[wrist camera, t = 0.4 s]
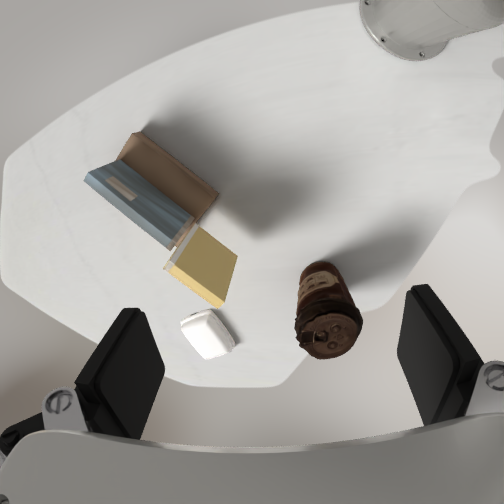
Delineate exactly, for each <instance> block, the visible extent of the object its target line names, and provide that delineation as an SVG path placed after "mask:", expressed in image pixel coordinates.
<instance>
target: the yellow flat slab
mask: <svg viewBox="0 0 504 504" xmlns="http://www.w3.org/2000/svg"><path fill="white" fill-rule="evenodd" d="M237 257H238V256H237V255H236V254H234V253H233V252H232V251H230V250H229V249H228V248H227V247H225V246H224V245H223V244H221V243H220V242H219V241H218V240H216V239H215V238H214V237H212V236H211V235H210V234H209V233H207V232H206V231H205V230H204V229H202V228H201V227H200V226H199V225H198V224H196V223H195V224H194V225H193V226H192V228H191V229H190V230H189V232H188V233H187V234H186V236H185V237H184V239H183V240H182V241H181V243H180V244H179V246H178V247H177V249H176V250H175V252H174V253H173V254H172V256H171V257H170V259H169V260H168V262H167V263H166V265H165V266H164V268H163V269H164V270H165V271H166V272H168V273H170V274H171V275H172V276H173V277H175V278H176V279H177V280H179V281H180V282H181V283H183V284H184V285H186V286H187V287H188V288H190V289H191V290H192V291H194V292H195V293H196V294H198V295H199V296H200V297H202V298H203V299H205V300H206V301H207V302H209V303H210V304H212V305H213V306H214V307H216V308H217V309H218V308H219V307H220V306H221V305H222V304H223V303H224V302H225V299H226V295H227V292H228V288H229V285H230V281H231V278H232V274H233V271H234V267H235V264H236V260H237Z"/></svg>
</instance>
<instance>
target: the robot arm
mask: <svg viewBox="0 0 504 504" xmlns="http://www.w3.org/2000/svg"><path fill="white" fill-rule="evenodd" d="M365 3H367V4H368V5H366V4H365ZM360 15H361V18H362V21H363V24H364V26H365V28H366V30H367V32H368V33H369V34H370V36H371V37H372V38H373V40H374V41H375V42H376V43H377V44H378V45H379V46H381V47H382V48H383V49H385V50H386V51H387V52H389V53H391V54H393V55H394V56H396V57H399V58H402V59H405V60H410V61H422V60H427V59H430V58H433V57H434V56H436V55H438V54H439V53H440V52H441V51H442V50H443V48H444V46H445V44H446V42H447V40H451V39H454V38H457V37H461V36H464V35H468V34H471V33H475V32H479V31H482V30H485V29H490V28H493V27H496V26H499V25H501V24H502V23H504V0H360ZM381 39H382V40H383V42H382V41H381ZM419 54H421V56H420V55H419ZM397 356H398V359H399V361H400V364H401V366H402V369H403V371H404V374H405V376H406V379H407V381H408V384H409V387H410V389H411V392H412V394H413V397H414V399H415V402H416V405H417V407H418V410H419V413H420V416H421V418H422V421H423V424H424V426H423V427H418V428H414V429H410V430H405V431H400V432H395V433H390V434H385V435H379V436H374V437H368V438H362V439H355V440H348V441H340V442H333V443H323V444H312V445H299V446H283V447H250V448H249V447H210V446H209V447H208V446H193V445H179V444H170V443H160V442H152V441H145V440H140V438H141V435H142V433H143V430H144V427H145V424H146V422H147V419H148V416H149V413H150V411H151V408H152V405H153V402H154V400H155V397H156V395H157V392H158V389H159V387H160V384H161V381H162V379H163V376H164V373H165V366H164V363H163V360H162V358H161V355H160V353H159V350H158V348H157V345H156V342H155V340H154V337H153V334H152V332H151V329H150V326H149V323H148V320H147V318H146V315H145V313H144V312H141V310H140V309H139V308H124V309H123V310H122V311H121V312H120V314H119V315H118V317H117V318H116V319H115V321H114V322H113V324H112V325H111V327H110V328H109V330H108V331H107V333H106V334H105V336H104V337H103V339H102V340H101V342H100V343H99V345H98V346H97V348H96V349H95V351H94V352H93V354H92V355H91V357H90V358H89V360H88V361H87V363H86V365H85V366H84V368H83V369H82V371H81V372H80V374H79V376H78V377H77V379H76V380H75V382H74V383H75V384H76V388H75V389H74V390H73V389H72V388H70V387H59V388H56V389H54V390H52V391H51V392H50V393H48V394H47V395H46V397H45V398H44V400H43V402H42V412H41V413H39V414H37V415H35V416H33V417H30V418H28V419H26V420H23V421H21V422H19V423H17V424H15V425H12V426H10V427H8V428H7V429H6V430H5V431H4V432H3V433H2V434H1V436H0V504H504V362H502V361H490V362H487V363H485V364H484V362H483V361H482V359H481V358H480V356H479V354H478V353H477V352H476V350H475V348H474V347H473V345H472V344H471V343H470V341H469V339H468V338H467V337H466V335H465V334H464V332H463V331H462V329H461V328H460V327H459V325H458V324H457V322H456V321H455V319H454V318H453V317H452V316H451V314H450V313H449V311H448V310H447V309H446V307H445V306H444V304H443V303H442V302H441V300H440V299H439V298H438V297H437V295H436V294H435V293H434V292H433V290H432V289H431V287H430V286H429V285H428V284H422V285H415V286H413V287H412V288H411V290H409V291H407V293H406V300H405V307H404V313H403V319H402V325H401V331H400V337H399V343H398V348H397Z"/></svg>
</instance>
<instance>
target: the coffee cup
mask: <svg viewBox="0 0 504 504" xmlns="http://www.w3.org/2000/svg"><path fill="white" fill-rule="evenodd" d="M299 285H300V287H299V290H298V303H297V312H296V315H297V318H296V319H295V320H296V322H295V331H296V334H297V337H296V339H297V340H298V341H299V342H300V344H299V346H300V347H301V348H303V349H305V350H306V351H307V352H308V353H309V354H310V355H311V356H313V357H315V358H317V359H330V358H335V357H338V356H341V355H343V354H344V353H346V352H347V351H349V350H350V349H351V347H352V346H353V345H354V343H355V341H356V340H357V338H358V336H359V334H360V332H361V329H362V325H363V319H362V316H361V314H360V311H359V309H358V308H356V306H355V303H354V301H353V299H352V297H351V294H350V293H349V290H348V288H347V286H346V284H345V282H344V280H343V278H342V276H341V274H340V273H339V271H338V269H337V268H336V267H335V266H334V265H333V264H331V263H327V262H316V263H313V264H311V265H310V266H308V267H306V268H305V270H304V271H303V272H302V274H301V276H300V282H299Z"/></svg>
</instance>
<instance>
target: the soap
mask: <svg viewBox="0 0 504 504" xmlns="http://www.w3.org/2000/svg"><path fill="white" fill-rule="evenodd" d="M181 325H182V326H181V330H182V331H183V333H184V334H185V336H186V337H187V339H188V340H189V341H190V343H191V344H192V345H193V347H194V348H195V349H196V350H197V351H198V352H199V353H200V355H201V356H202V357H203V358H204V359H211V358H215V357H219V356H222V355H224V354H227V353H229V352H231V351H232V349H233V348H234V347H235V345H236V343H235V341H234V340H233V338H232V336H231V335H230V333H229V332H228V330H227V329H226V327H225V326H224V324H223V323H222V322H221V321H220V319H219V318H218V317H217V316H216V314H215V313H214V312H213V311H212V310H204V311H200V312H198V313H197V314H194V315H192V316H191V315H190V316H187V317H185V318H184V319H182V320H181Z"/></svg>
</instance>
